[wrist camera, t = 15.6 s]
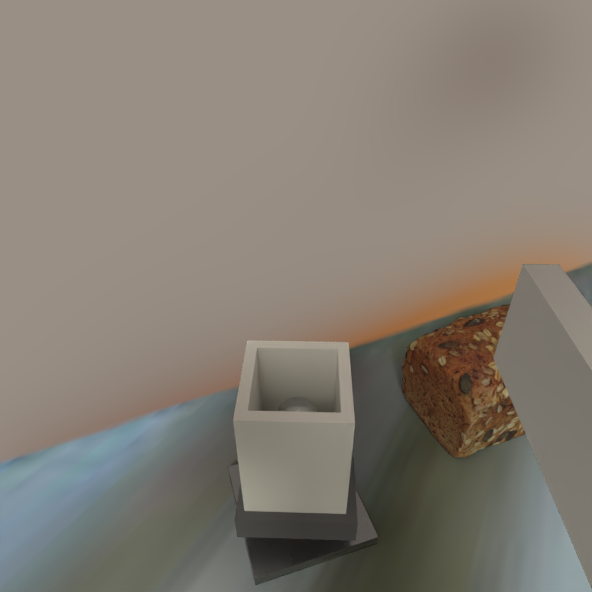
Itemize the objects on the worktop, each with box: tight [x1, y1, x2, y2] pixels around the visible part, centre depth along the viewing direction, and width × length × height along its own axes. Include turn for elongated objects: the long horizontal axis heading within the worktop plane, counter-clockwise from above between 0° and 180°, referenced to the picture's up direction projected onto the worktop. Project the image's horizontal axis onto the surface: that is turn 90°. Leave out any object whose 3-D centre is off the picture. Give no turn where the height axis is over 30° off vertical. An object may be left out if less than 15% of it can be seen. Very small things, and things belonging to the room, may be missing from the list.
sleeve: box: [233, 340, 355, 514], centre depth 35 cm, size 7×7×10 cm
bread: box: [402, 305, 525, 458], centre depth 48 cm, size 19×11×10 cm, turn 113°
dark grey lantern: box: [228, 397, 378, 585], centre depth 38 cm, size 10×10×12 cm
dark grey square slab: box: [235, 449, 358, 541], centre depth 39 cm, size 9×9×2 cm
